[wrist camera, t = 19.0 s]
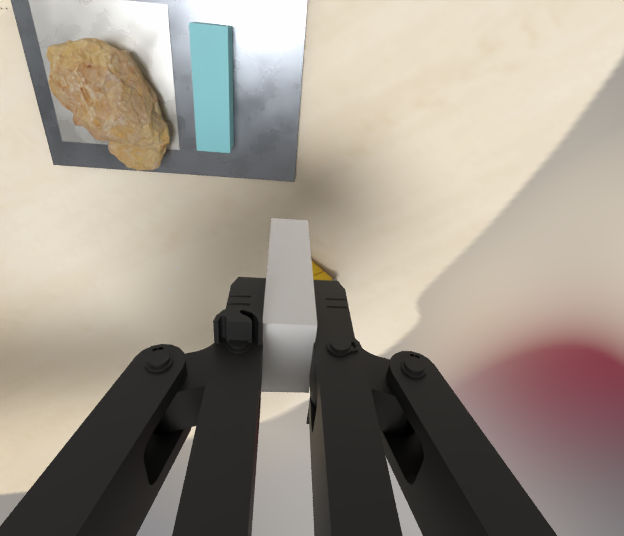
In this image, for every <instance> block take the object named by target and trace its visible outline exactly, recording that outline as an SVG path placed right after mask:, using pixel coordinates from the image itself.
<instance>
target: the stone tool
mask: <svg viewBox="0 0 624 536" xmlns="http://www.w3.org/2000/svg"><path fill="white" fill-rule="evenodd" d="M46 56H47V59H48V60H49V62H50V69H51V71H50V75H49V82H48V83H49V86H50V89H51V92H52V93H53V95H54V96H55V97H56V98H57V99H58V100H59V102H60V103H61V105H62V106H64V107H65V108H66V109H68V110H70V111H71V112H72V113H73V122H74V124H75V125H77V126H83V127H84V128H86V129H87V130H88V132H89V133H90V134H91V135H92V136H93V137H94V138H95V139H96V140H99V141H105V140H107V141H109V144H108V149H109V151H110V153H111V154H113V155H115V156H116V157H117V159H118V160H119V161H121V162H123V163H124V164H125V165H126V167H128V168H133V169H135V170H154V169H157V168H159V166H160V164H161V159H162V158H163V156H164V154H165V152H166V145H167V144H169V130H168V125H167V123H166V122H165V121H164V119H163V117H162V113H161V110H160V107H159V105H158V100H157V96H156V94H155V92H154V90H153V89H152V87H151V85H150V84H149V82H148V81H146V79H145V78H144V76H143V74H142V72H141V70H140V68H139V67H138V65H137V64H136V63H135V61H134V60H133V58H132V57H131V55H130V54H129V53H128V52H127V51H125V50H118V49H116V48H114V47H112V46H110V45H108V44H107V43H106V42H104V41H102V40H98V39H96V38H83V39H79V40H76V41H71V40H68V41H66V42H65V43H60V44H55V45H51V46H49V47H48V49H47V54H46Z"/></svg>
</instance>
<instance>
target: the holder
mask: <svg viewBox="0 0 624 536" xmlns="http://www.w3.org/2000/svg"><path fill="white" fill-rule="evenodd" d="M11 3H12V7H13V11H14V15H15V19H16V22H17V26H18V30H19V34H20V38H21V42H22V45H23V49H24V53H25V57H26V61H27V65H28V68H29V72H30V76H31V80H32V84H33V88H34V91H35V95H36V99H37V103H38V107H39V111H40V114H41V118H42V122H43V126H44V130H45V134H46V137H47V141H48V145H49V149H50V153H51V156H52V160H53V164H54V165H64V166H78V167H92V168H106V169H120V170H135V169H133V168H128V167H126V165H125V164H124V163H123V162H121V161H119V160H118V159H117V157H116V156H115V155H113V154H111V153H110V151H109V149H108V144H109V141H107V140H105V141H99V140H96V139H95V138H94V137H93V136H92V135H91V134H90V133H89V132H88V130H87V129H86V128H84V127H83V126H77V125H75V124H74V122H73V113H72V112H71V111H70V110H68V109H66V108H65V107H64V106H62V105H61V103H60V102H59V100H58V99H57V98H56V97H55V96H54V95H53V93H52V92H51V89H50V86H49V83H48V82H49V75H50V71H51V69H50V62H49V60H48V59H47V56H46V54H47V49H48V47H49V46H51V45H55V44H60V43H65V42H66V41H68V40H71V41H76V40H79V39H83V38H96V39H98V40H102V41H104V42H106V43H107V44H108V45H110V46H112V47H114V48H116V49H118V50H125V51H127V52H128V53H129V54H130V55H131V57H132V58H133V60H134V61H135V63H136V64H137V65H138V67H139V68H140V70H141V72H142V74H143V76H144V78H145V79H146V81H148V82H149V84H150V85H151V87H152V89H153V90H154V92H155V94H156V96H157V100H158V105H159V107H160V110H161V113H162V117H163V119H164V121H165V122H166V123H167V125H168V130H169V144H167V145H166V152H165V154H164V156H163V158H162V159H161V164H160V166H159V168H157V169H154V170H135V171H149V172H163V173H177V174H191V175H205V176H220V177H234V178H248V179H262V180H276V181H291V182H294V181H295V167H296V152H297V138H298V124H299V110H300V96H301V82H302V68H303V54H304V40H305V25H306V11H307V0H11ZM191 22H202V23H211V24H221V25H231V26H232V42H233V116H234V145H233V147H232V150H231V152H230V153H222V152H208V151H197V145H196V130H195V114H194V98H193V82H192V67H191V51H190V35H189V23H191Z"/></svg>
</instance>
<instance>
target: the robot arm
mask: <svg viewBox="0 0 624 536" xmlns="http://www.w3.org/2000/svg"><path fill="white" fill-rule="evenodd" d="M213 323H214V342H215V343H214V344H212V345H211V346H209V347H207V348H205V349H203V350H200V351H196V352H192V353H187V354H184V352H183V351H182V350H181V349H180V348H178V347H176V346H173V345H167V344H160V345H155V346H151V347H149V348H147V349H145V350H143V351H141V352H140V353H139V354H138V355H137V356H136V357H135V358H134V359H133V361H132V362H131V363H130V364H129V366H128V367H127V368H126V369H125V371H124V372H123V373H122V374H121V376H120V377H119V378H118V379H117V381H116V382H115V383H114V384H113V386H112V387H111V388H110V389H109V391H108V392H107V393H106V394H105V396H104V397H103V398H102V399H101V401H100V402H99V403H98V404H97V406H96V407H95V408H94V409H93V411H92V412H91V413H90V414H89V416H88V417H87V418H86V420H85V421H84V422H83V423H82V425H81V426H80V427H79V428H78V430H77V431H76V432H75V433H74V435H73V436H72V437H71V438H70V440H69V441H68V442H67V443H66V445H65V446H64V447H63V448H62V450H61V451H60V452H59V453H58V455H57V456H56V457H55V458H54V460H53V461H52V462H51V463H50V465H49V466H48V467H47V468H46V470H45V471H44V472H43V473H42V475H41V476H40V477H39V478H38V480H37V481H36V482H35V483H34V485H33V486H32V487H31V488H30V490H29V491H28V492H27V493H26V495H25V496H24V497H23V499H22V500H21V501H20V502H19V503H18V505H17V506H16V507H15V508H14V510H13V511H12V512H11V513H10V515H9V516H8V517H7V519H6V520H5V521H4V522H3V524H2V525H1V526H0V536H136V535H137V532H138V531H139V529H140V527H141V525H142V523H143V521H144V519H145V517H146V515H147V513H148V511H149V510H150V508H151V506H152V504H153V502H154V500H155V498H156V496H157V494H158V492H159V490H160V488H161V486H162V484H163V482H164V481H165V478H166V477H167V475H168V473H169V471H170V469H171V467H172V465H173V463H174V461H175V459H176V457H177V455H178V453H179V451H180V450H181V448H182V446H183V444H184V442H185V440H186V438H187V436H188V434H189V432H190V430H191V427H193V426H196V430H195V435H194V439H193V445H192V448H191V453H190V458H189V462H188V467H187V471H186V476H185V480H184V485H183V489H182V494H181V498H180V503H179V507H178V512H177V516H176V521H175V526H174V530H173V534H172V536H251V532H252V519H253V518H252V517H253V504H254V503H253V502H254V490H255V476H256V461H257V447H258V433H259V432H258V431H259V419H260V401H261V391H262V392H306V393H309V387H310V401H309V409H308V417H307V424H309V425H310V447H311V469H312V489H313V511H314V512H313V513H314V535H315V536H402V532H401V527H400V522H399V518H398V513H397V509H396V503H395V499H394V494H393V489H392V485H391V480H390V475H389V471H388V466H387V461H386V458H387V460H388V462H389V464H390V466H391V468H392V470H393V473H394V475H395V476H396V479H397V481H398V483H399V485H400V487H401V490H402V492H403V494H404V496H405V498H406V500H407V502H408V505H409V507H410V509H411V511H412V513H413V515H414V517H415V519H416V521H417V523H418V526H419V528H420V530H421V532H422V534H423V536H557V535H556V533H555V532H554V531H553V529H552V528H551V526H550V525H549V524H548V522H547V521H546V520H545V518H544V517H543V515H542V514H541V512H540V511H539V510H538V509H537V507H536V506H535V504H534V503H533V501H532V500H531V499H530V497H529V496H528V494H527V493H526V492H525V490H524V489H523V488H522V486H521V485H520V483H519V482H518V480H517V479H516V478H515V476H514V475H513V474H512V472H511V471H510V469H509V468H508V467H507V465H506V464H505V463H504V461H503V460H502V458H501V457H500V456H499V454H498V453H497V451H496V450H495V448H494V447H493V446H492V444H491V443H490V442H489V440H488V439H487V437H486V436H485V435H484V433H483V432H482V430H481V429H480V428H479V426H478V425H477V423H476V422H475V421H474V419H473V418H472V416H471V415H470V414H469V413H468V411H467V410H466V408H465V407H464V405H463V404H462V403H461V401H460V400H459V398H458V397H457V396H456V395H455V393H454V391H453V390H452V389H451V387H450V386H449V384H448V383H447V382H446V380H445V379H444V378H443V376H442V375H441V373H440V372H439V371H438V369H437V368H436V367H435V365H434V364H433V363H432V362H431V361H430V360H429V359H428V358H426V357H425V356H423V355H421V354H419V353H415V352H412V351H401V352H399V353H396V354H394V355H393V356H392V357H391V359H390V360H389V359H386V358H382V357H378V356H375V355H373V354H370V353H369V352H367V351H365V350H364V349H363V348H362V347H361V345H360V343H359V342H358V341H357V340H356V339H355V337H354V332H353V327H352V322H351V317H350V312H349V309H348V302H347V297H346V292H345V289H344V288H343V287H342V285H341V284H340V283H339V282H338V281H330V280H313V271H312V260H311V249H310V238H309V227H308V220H298V219H282V218H271V229H270V240H269V252H268V264H267V275H266V278H249V277H238V278H237V279H236V280H235V282H234V283H233V284H232V285H231V288H230V292H229V297H228V302H227V306H226V309H225V310H223V311H222V312H220V313H219V314H217V315H216V317H215V319H214V321H213ZM385 455H386V457H385Z"/></svg>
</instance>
